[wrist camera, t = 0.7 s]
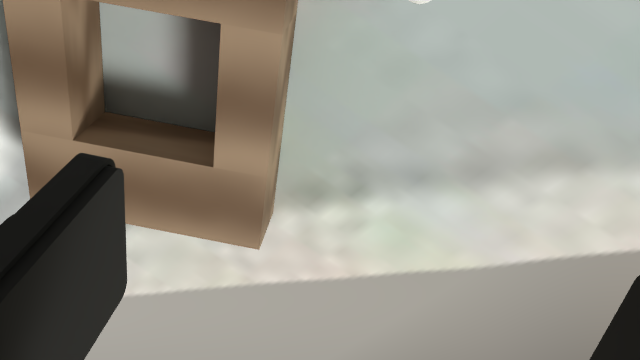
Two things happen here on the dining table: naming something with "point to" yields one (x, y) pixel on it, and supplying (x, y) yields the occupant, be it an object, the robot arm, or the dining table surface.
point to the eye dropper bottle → (419, 1)
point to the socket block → (151, 136)
